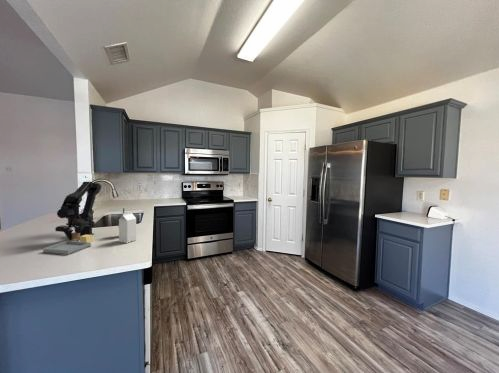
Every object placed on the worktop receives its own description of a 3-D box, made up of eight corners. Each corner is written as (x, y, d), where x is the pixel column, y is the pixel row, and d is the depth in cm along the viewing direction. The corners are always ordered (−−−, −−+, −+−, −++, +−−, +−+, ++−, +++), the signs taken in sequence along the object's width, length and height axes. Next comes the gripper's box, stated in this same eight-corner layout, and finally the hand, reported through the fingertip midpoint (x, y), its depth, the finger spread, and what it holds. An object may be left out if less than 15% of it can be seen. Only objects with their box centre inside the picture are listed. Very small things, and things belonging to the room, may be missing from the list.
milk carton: (136, 240, 145) (136, 212, 144) (127, 243, 139) (127, 214, 137) (128, 239, 148) (128, 211, 146) (118, 242, 141) (118, 213, 140)
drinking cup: (124, 238, 149) (124, 209, 148) (114, 237, 150) (114, 208, 149) (132, 235, 156) (132, 207, 155) (123, 234, 158) (123, 207, 157)
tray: (67, 244, 133) (67, 240, 133) (90, 246, 131) (90, 242, 131) (43, 252, 120) (43, 248, 119) (68, 255, 117) (68, 250, 117)
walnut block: (74, 239, 142) (74, 232, 142) (80, 239, 141) (80, 232, 141) (67, 241, 138) (67, 234, 137) (73, 241, 137) (73, 234, 137)
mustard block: (86, 241, 141) (86, 234, 141) (92, 241, 140) (92, 234, 140) (80, 243, 136) (79, 236, 136) (86, 243, 136) (86, 236, 136)
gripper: (70, 218, 128) (71, 244, 129) (96, 213, 147) (97, 235, 148) (54, 217, 130) (54, 243, 131) (82, 212, 148) (82, 234, 149)
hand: (74, 238), depth 140 cm, fingers closed on walnut block, 4 cm apart
